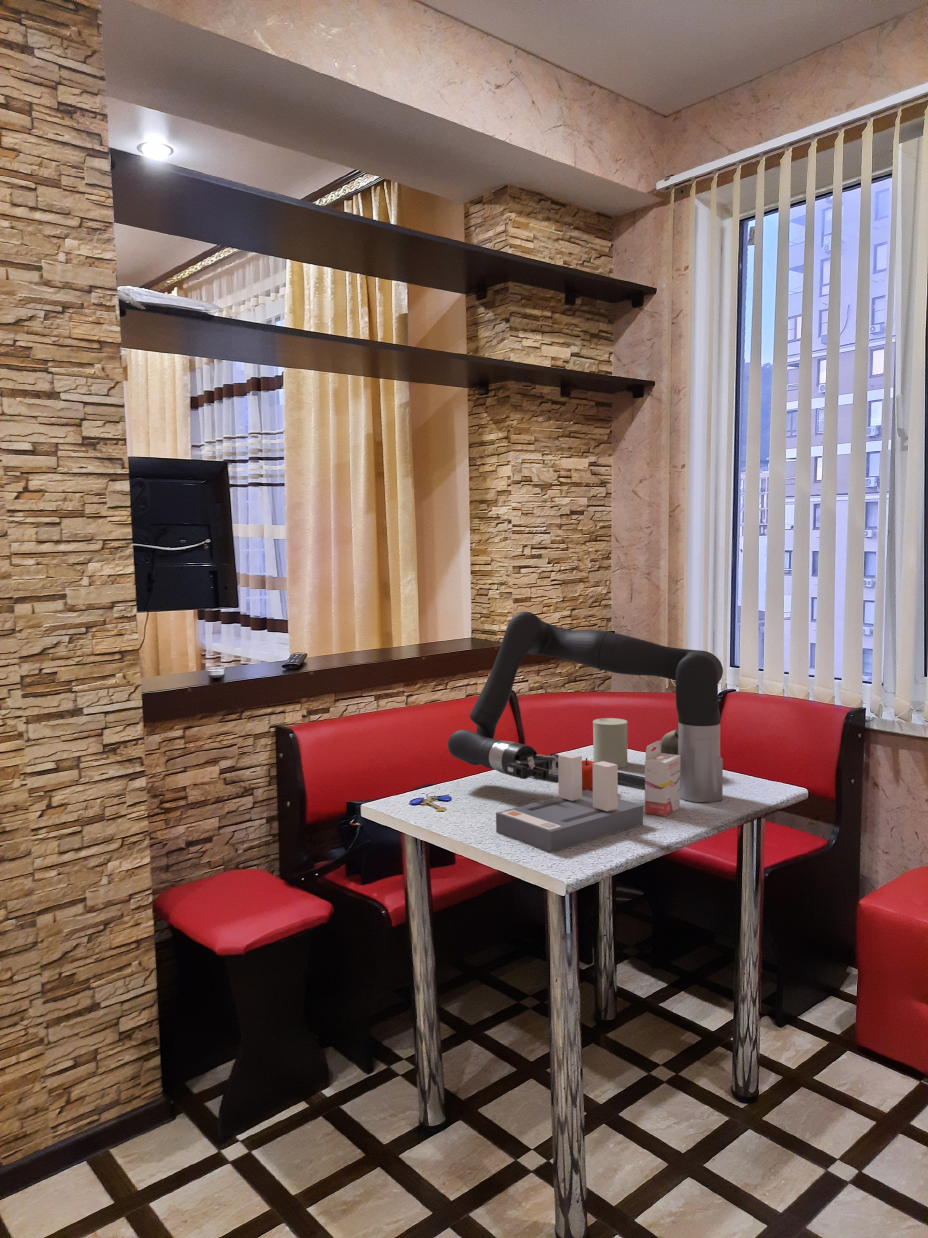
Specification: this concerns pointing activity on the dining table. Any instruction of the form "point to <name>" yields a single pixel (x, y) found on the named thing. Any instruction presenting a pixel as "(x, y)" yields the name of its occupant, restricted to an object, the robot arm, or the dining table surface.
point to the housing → (566, 821)
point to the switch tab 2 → (605, 786)
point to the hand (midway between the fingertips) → (562, 772)
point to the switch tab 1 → (570, 776)
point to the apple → (587, 775)
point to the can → (610, 741)
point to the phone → (631, 781)
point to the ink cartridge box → (661, 781)
